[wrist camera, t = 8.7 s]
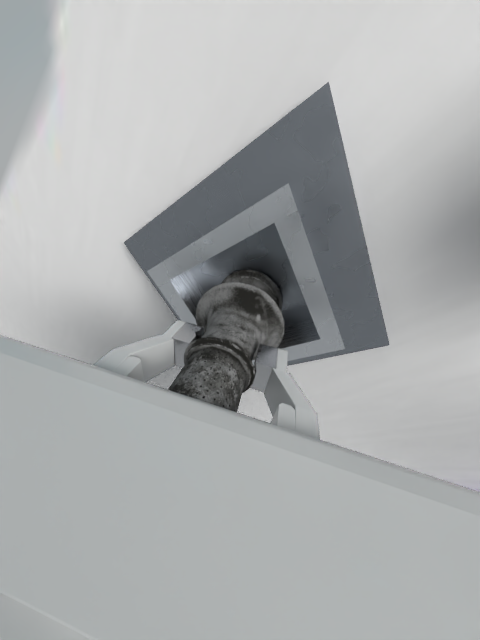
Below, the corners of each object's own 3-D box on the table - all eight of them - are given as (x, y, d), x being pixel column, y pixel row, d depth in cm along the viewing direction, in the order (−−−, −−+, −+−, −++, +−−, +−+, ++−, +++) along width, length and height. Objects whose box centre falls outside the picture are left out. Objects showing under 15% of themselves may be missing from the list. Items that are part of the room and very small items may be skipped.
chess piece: (224, 334, 17) (132, 508, 8) (204, 272, 15) (19, 414, 5) (290, 330, 16) (284, 554, 6) (281, 258, 13) (238, 443, 3)
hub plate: (384, 337, 15) (408, 373, 12) (222, 372, 22) (210, 402, 19) (325, 92, 10) (342, 33, 6) (132, 240, 16) (91, 249, 13)
